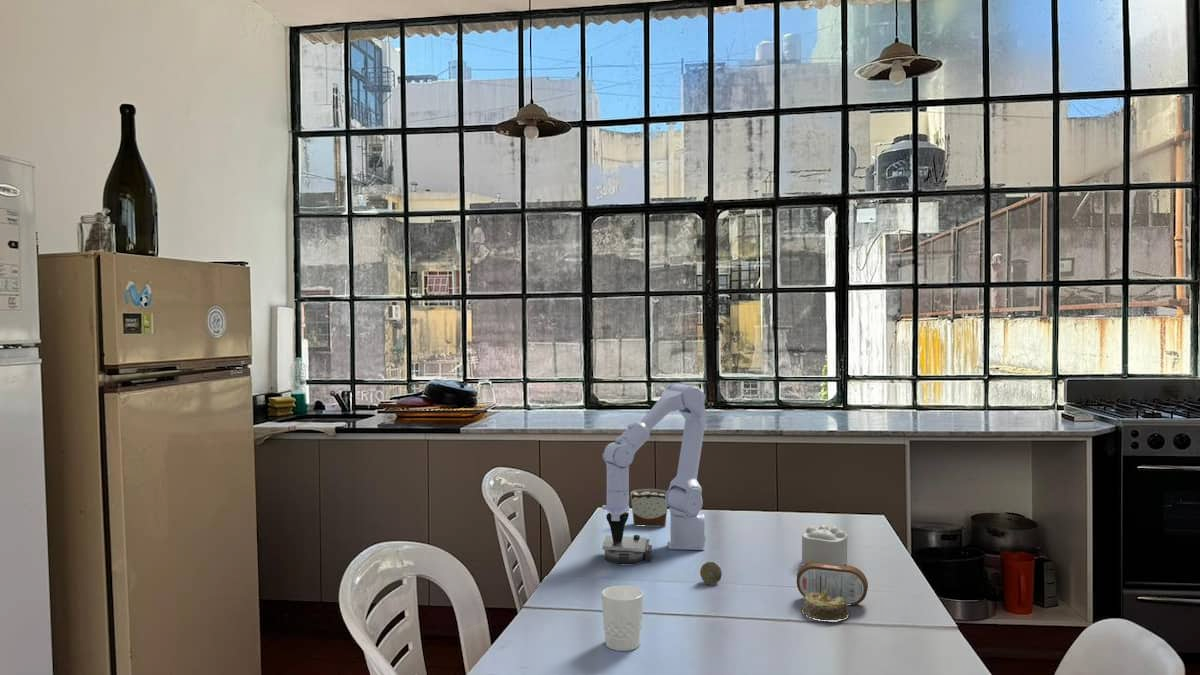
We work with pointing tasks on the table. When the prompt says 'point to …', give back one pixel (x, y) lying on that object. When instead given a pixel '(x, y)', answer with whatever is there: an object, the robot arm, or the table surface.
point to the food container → (649, 507)
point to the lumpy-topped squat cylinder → (824, 545)
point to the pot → (628, 556)
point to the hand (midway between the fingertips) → (617, 541)
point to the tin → (833, 581)
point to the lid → (627, 544)
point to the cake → (824, 606)
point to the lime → (710, 573)
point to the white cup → (622, 617)
